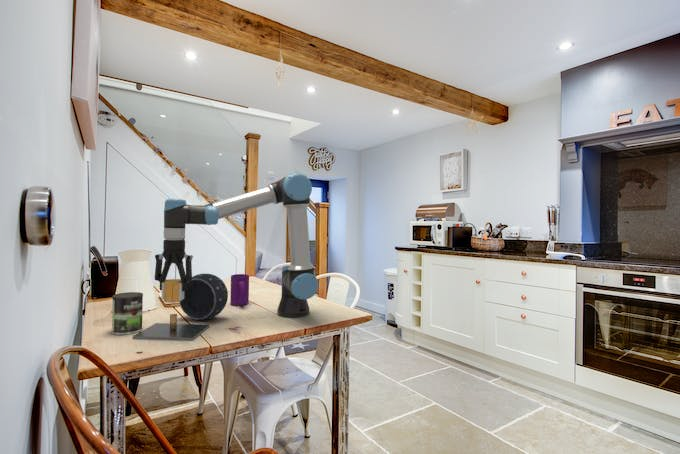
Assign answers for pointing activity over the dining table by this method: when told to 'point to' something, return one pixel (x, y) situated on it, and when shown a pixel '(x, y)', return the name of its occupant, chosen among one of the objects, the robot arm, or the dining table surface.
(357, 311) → the dining table surface
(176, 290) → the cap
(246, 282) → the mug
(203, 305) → the studded dark pot
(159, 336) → the plate
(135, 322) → the coffee can
